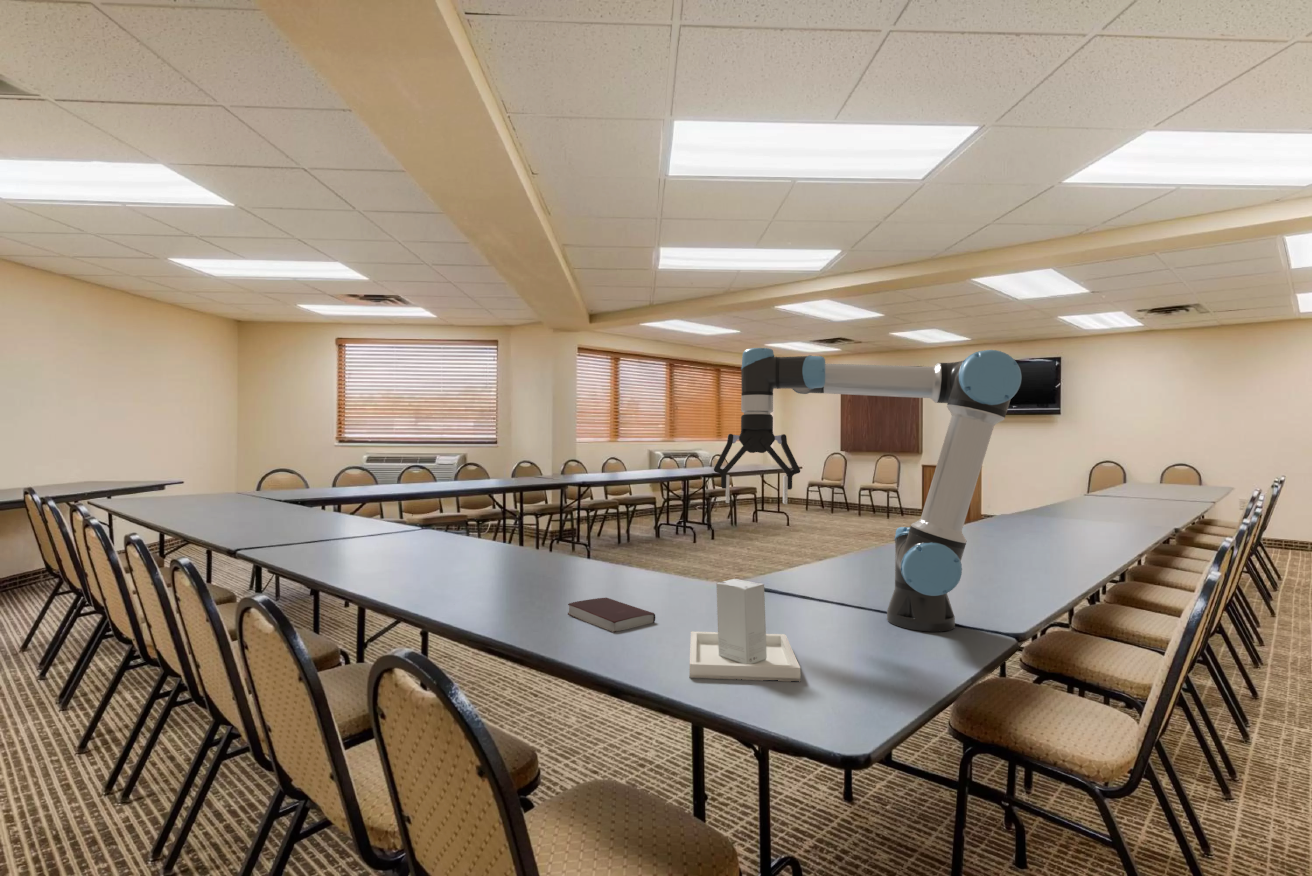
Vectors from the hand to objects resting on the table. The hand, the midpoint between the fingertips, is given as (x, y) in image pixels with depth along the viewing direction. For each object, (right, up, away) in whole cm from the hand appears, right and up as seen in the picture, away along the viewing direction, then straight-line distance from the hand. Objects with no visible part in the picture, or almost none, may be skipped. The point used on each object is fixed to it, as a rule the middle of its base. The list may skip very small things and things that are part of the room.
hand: (756, 503), depth 151 cm
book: (-35, -29, +3) cm, 46 cm away
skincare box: (-7, -28, -26) cm, 39 cm away
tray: (-7, -29, -26) cm, 39 cm away
